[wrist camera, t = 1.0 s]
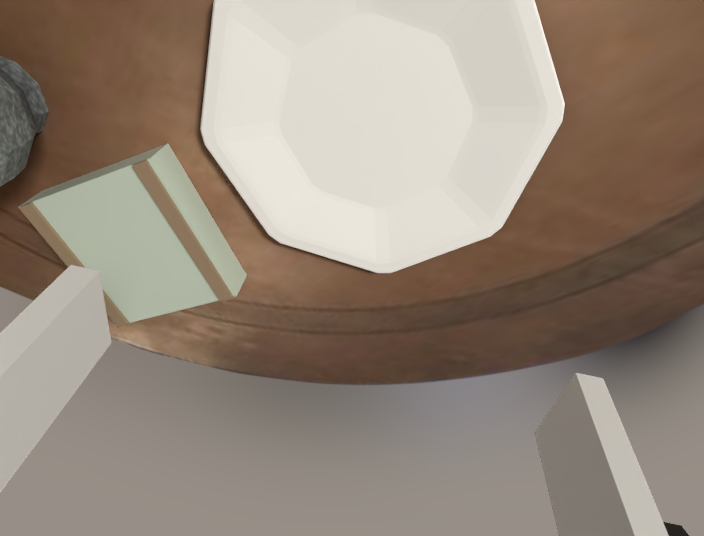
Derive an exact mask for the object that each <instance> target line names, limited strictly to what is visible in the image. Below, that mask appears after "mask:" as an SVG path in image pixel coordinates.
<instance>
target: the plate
mask: <svg viewBox="0 0 704 536" xmlns="http://www.w3.org/2000/svg"><path fill="white" fill-rule="evenodd" d="M564 106H565V103H564V99H563V96H562V93H561V89H560V86H559V82H558V79H557V75H556V72H555V69H554V65H553V62H552V58H551V55H550V51H549V48H548V45H547V41H546V38H545V34H544V31H543V27H542V24H541V21H540V17H539V14H538V10H537V7H536V3H535V0H214V2H213V12H212V21H211V31H210V40H209V50H208V59H207V69H206V78H205V88H204V97H203V107H202V116H201V126H200V131H201V134H202V138H203V141H204V145H205V146H206V147H207V149H208V150H209V152H210V153H211V155H212V156H213V157H214V159H215V160H216V162H217V163H218V164H219V166H220V167H221V169H222V170H223V171H224V173H225V174H226V176H227V177H228V178H229V180H230V181H231V183H232V184H233V186H234V187H235V188H236V190H237V191H238V193H239V194H240V195H241V197H242V198H243V200H244V201H245V202H246V204H247V205H248V207H249V208H250V209H251V211H252V212H253V214H254V215H255V217H256V218H257V219H258V221H259V222H260V224H261V225H262V226H263V228H264V229H265V231H266V232H267V233H268V235H269V236H271V237H272V238H273V239H275V240H276V241H278V242H279V243H281V244H285V245H288V246H291V247H294V248H298V249H301V250H304V251H307V252H310V253H314V254H317V255H320V256H323V257H327V258H330V259H333V260H336V261H340V262H343V263H346V264H349V265H353V266H356V267H359V268H362V269H366V270H369V271H372V272H375V273H392V272H395V271H398V270H400V269H403V268H406V267H409V266H411V265H414V264H417V263H420V262H422V261H425V260H428V259H431V258H433V257H436V256H439V255H441V254H444V253H447V252H450V251H452V250H455V249H458V248H461V247H463V246H466V245H469V244H471V243H474V242H477V241H480V240H482V239H485V238H488V237H491V236H492V235H493V234H494V233H495V232H497V231H498V230H499V229H500V228H502V226H503V225H504V223H505V221H506V219H507V217H508V216H509V214H510V212H511V210H512V209H513V207H514V205H515V203H516V202H517V200H518V198H519V196H520V195H521V193H522V191H523V189H524V188H525V186H526V184H527V182H528V181H529V179H530V177H531V175H532V174H533V172H534V170H535V168H536V167H537V165H538V163H539V161H540V160H541V158H542V156H543V154H544V153H545V151H546V149H547V147H548V146H549V144H550V142H551V140H552V139H553V137H554V135H555V133H556V132H557V130H558V128H559V126H560V125H561V123H562V120H563V113H564Z"/></svg>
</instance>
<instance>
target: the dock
mask: <svg viewBox="0 0 704 536" xmlns="http://www.w3.org/2000/svg"><path fill="white" fill-rule="evenodd" d="M19 209H20V210H21V211H22V213H23V214H24V215H25V216H26V217H27V219H28V220H29V221H30V222H31V223H32V225H33V226H34V227H35V228H36V229H37V231H38V232H39V233H40V234H41V235H42V237H43V238H44V239H45V240H46V241H47V243H48V244H49V245H50V246H51V247H52V249H53V250H54V251H55V252H56V253H57V255H58V256H59V257H60V258H61V260H62V261H63V262H64V263H65V264H66V266H67V267H69V266H70V265H74V266H79V267H84V268H88V269H93V270H98V271H99V272H100V278H101V284H102V289H103V295H104V301H105V307H106V313H107V315H108V316H109V317H110V319H111V320H112V321H113V322H114V323H115V325H116V326H117V327H122V326H126V325H128V324H129V323H131V322H135V321H139V320H143V319H147V318H151V317H155V316H159V315H163V314H167V313H171V312H175V311H179V310H183V309H187V308H191V307H195V306H199V305H203V304H207V303H211V302H215V301H219V300H220V302H222V301H226V300H230V299H233V297H235V296H237V294H238V292H239V290H240V288H241V286H242V284H243V282H244V280H245V278H246V276H247V275H246V273H245V271H244V270H243V268H242V266H241V265H240V263H239V261H238V260H237V258H236V256H235V255H234V253H233V251H232V250H231V248H230V246H229V245H228V243H227V241H226V240H225V238H224V236H223V234H222V233H221V231H220V229H219V228H218V226H217V224H216V223H215V221H214V219H213V218H212V216H211V214H210V213H209V211H208V209H207V208H206V206H205V204H204V203H203V201H202V199H201V198H200V196H199V194H198V193H197V191H196V189H195V187H194V186H193V184H192V182H191V181H190V179H189V177H188V176H187V174H186V172H185V171H184V169H183V167H182V166H181V164H180V162H179V161H178V159H177V157H176V156H175V154H174V152H173V151H172V149H171V147H170V145H169V144H168V143H167V144H165V145H162V146H159V147H157V148H154V149H151V150H149V151H146V152H143V153H141V154H138V155H135V156H133V157H130V158H127V159H125V160H122V161H120V162H117V163H114V164H112V165H109V166H106V167H104V168H101V169H98V170H96V171H93V172H90V173H88V174H85V175H82V176H80V177H77V178H74V179H72V180H69V181H66V182H64V183H61V184H58V185H56V186H53V187H50V188H48V189H45V190H43V191H41V192H40V193H38V194H37V195H35V196H34V197H32V198H31V199H29V200H28V201H26V202H25V203H23V204H22V205H20V206H19Z"/></svg>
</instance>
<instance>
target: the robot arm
mask: <svg viewBox="0 0 704 536" xmlns="http://www.w3.org/2000/svg"><path fill="white" fill-rule="evenodd" d="M110 344H111V337H110V331H109V325H108V319H107V313H106V307H105V301H104V295H103V289H102V284H101V278H100V272H99V271H98V270H93V269H88V268H84V267H79V266H74V265H70V266H69V267H68V268H67V269H66V270H65V271H64V272H63V273H62V274H61V275H60V276H59V277H58V278H57V279H56V280H55V281H54V282H53V283H52V284H51V285H50V286H49V287H48V288H46V289H45V290H44V291H43V292H42V293H41V294H40V295H39V296H38V297H37V298H36V299H35V300H34V301H33V302H32V303H31V304H30V305H29V306H28V307H27V308H26V309H25V310H24V311H23V312H22V313H21V314H20V315H18V317H16V318H15V319H14V320H13V321H12V322H11V323H10V324H9V325H8V326H7V327H6V328H5V329H4V330H3V331H2V332H1V333H0V492H1V491H2V490H3V488H4V487H5V486H6V484H7V483H8V482H9V480H10V479H11V477H12V476H13V475H14V473H15V472H16V471H17V469H18V468H19V466H20V465H21V464H22V463H23V461H24V460H25V459H26V457H27V456H28V455H29V453H30V452H31V450H32V449H33V448H34V447H35V445H36V444H37V442H38V441H39V440H40V438H41V437H42V436H43V434H44V433H45V432H46V430H47V429H48V428H49V426H50V425H51V424H52V422H53V421H54V420H55V418H56V417H57V416H58V414H59V413H60V411H61V410H62V409H63V407H64V406H65V405H66V403H67V402H68V401H69V399H70V398H71V397H72V395H73V394H74V393H75V391H76V390H77V389H78V387H79V386H80V385H81V383H82V382H83V381H84V379H85V378H86V376H87V375H88V374H89V372H90V371H91V370H92V368H93V367H94V366H95V364H96V363H97V362H98V360H99V359H100V358H101V356H102V355H103V353H104V352H105V351H106V350H107V348H108V347H109V345H110ZM535 436H536V441H537V445H538V449H539V453H540V458H541V462H542V466H543V470H544V474H545V479H546V483H547V487H548V492H549V496H550V500H551V504H552V508H553V513H554V517H555V521H556V525H557V529H558V534H559V536H689V535H688V534H687V533H686V531H685V530H684V529H683V528H682V526H680V525H675V524H670V523H665V522H663V521H662V519H661V516H660V514H659V511H658V509H657V506H656V504H655V502H654V500H653V497H652V494H651V492H650V490H649V488H648V485H647V483H646V480H645V478H644V476H643V473H642V471H641V468H640V466H639V464H638V461H637V459H636V456H635V454H634V452H633V449H632V447H631V444H630V442H629V439H628V437H627V435H626V432H625V430H624V428H623V425H622V423H621V420H620V418H619V416H618V413H617V411H616V409H615V406H614V404H613V401H612V399H611V396H610V394H609V392H608V389H607V387H606V385H605V382H604V380H603V378H598V377H593V376H589V375H584V374H579V373H575V375H574V376H573V377H572V379H571V380H570V382H569V383H568V385H567V386H566V388H565V389H564V391H563V392H562V393H561V395H560V396H559V398H558V399H557V401H556V402H555V404H554V405H553V406H552V408H551V409H550V411H549V412H548V414H547V415H546V416H545V418H544V419H543V421H542V422H541V424H540V425H539V427H538V428H537V429H536V431H535Z"/></svg>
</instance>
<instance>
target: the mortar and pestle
mask: <svg viewBox="0 0 704 536" xmlns="http://www.w3.org/2000/svg"><path fill="white" fill-rule="evenodd" d="M48 112H49V110H48V107H47V104H46V102H45V99H44V97H43V94H42V91H41V89H40V86H39V84H38V83H37V82H36V81H35V80H34V79H33V78H32V77H31V76H30V75H29V74H28V73H27V72H26V71H25V70H24V69H23V68H22V67H21V66H20V65H19V64H18V63H17V62H16V61H13V60H10V59H7V58H4V57H1V56H0V186H2V185H4V184H5V183H7V182H9V181H10V180H12V179H14V178H15V177H16V176H17V175H18V174H19V173H20V172H21V171H22V170H23V169H24V168H25V167H26V164H27V161H28V157H29V154H30V150H31V147H32V143H33V140H34V136H35V134H37V133H39V132H42V131H43V129H44V126H45V123H46V119H47V116H48Z"/></svg>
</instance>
